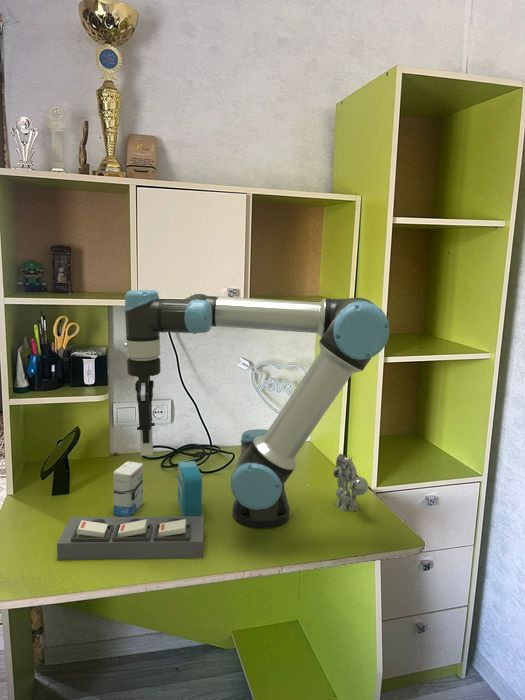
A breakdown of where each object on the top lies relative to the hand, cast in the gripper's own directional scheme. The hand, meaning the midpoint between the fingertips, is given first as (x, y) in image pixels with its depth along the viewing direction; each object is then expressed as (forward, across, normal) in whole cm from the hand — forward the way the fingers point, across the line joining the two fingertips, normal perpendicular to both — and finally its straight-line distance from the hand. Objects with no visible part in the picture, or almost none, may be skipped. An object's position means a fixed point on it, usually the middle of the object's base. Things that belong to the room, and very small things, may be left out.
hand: (147, 454), depth 132 cm
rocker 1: (+14, +8, -12) cm, 20 cm away
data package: (+21, -11, +10) cm, 25 cm away
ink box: (+20, -13, -6) cm, 25 cm away
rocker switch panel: (+20, +5, -3) cm, 21 cm away
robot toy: (+22, -9, +53) cm, 58 cm away
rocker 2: (+15, +8, +6) cm, 18 cm away
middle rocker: (+15, +8, -3) cm, 17 cm away
